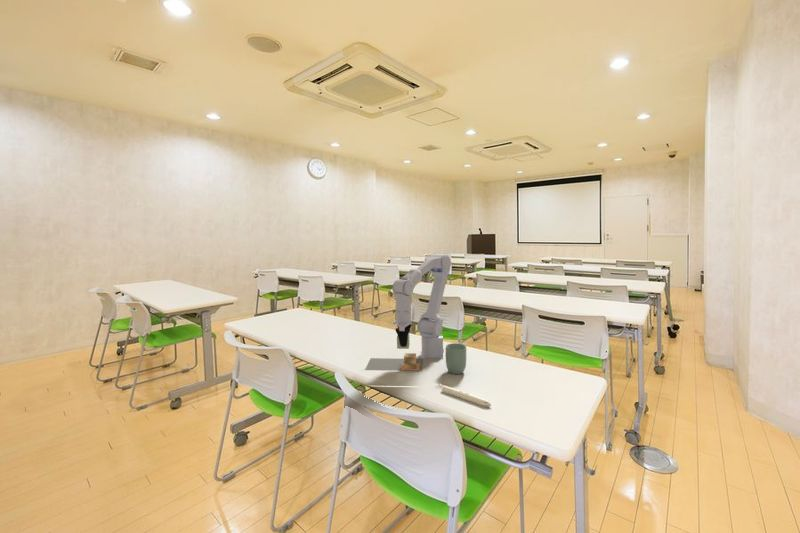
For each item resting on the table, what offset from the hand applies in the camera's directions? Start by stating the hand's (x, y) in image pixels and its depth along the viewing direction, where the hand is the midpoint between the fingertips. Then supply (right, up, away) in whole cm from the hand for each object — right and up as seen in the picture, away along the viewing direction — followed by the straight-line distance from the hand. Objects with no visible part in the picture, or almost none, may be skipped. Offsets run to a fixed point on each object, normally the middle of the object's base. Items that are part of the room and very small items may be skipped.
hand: (404, 344), depth 141 cm
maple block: (+2, -9, 0) cm, 9 cm away
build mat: (-4, -9, +3) cm, 10 cm away
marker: (+19, -12, -27) cm, 35 cm away
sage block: (0, -1, 0) cm, 1 cm away
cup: (+20, -10, -5) cm, 23 cm away
